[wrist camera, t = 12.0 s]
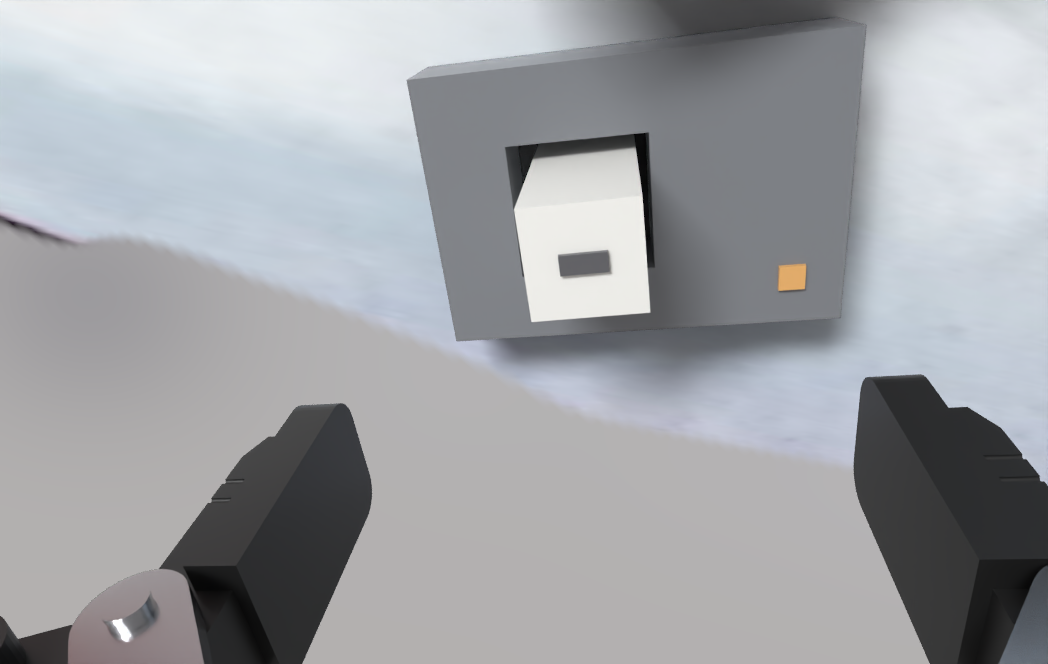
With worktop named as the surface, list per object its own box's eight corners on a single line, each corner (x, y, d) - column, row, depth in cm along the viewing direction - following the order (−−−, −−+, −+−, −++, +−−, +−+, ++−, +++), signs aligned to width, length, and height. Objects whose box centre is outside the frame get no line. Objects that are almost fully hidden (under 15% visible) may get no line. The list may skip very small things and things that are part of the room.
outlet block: (836, 17, 27) (868, 25, 23) (817, 282, 32) (841, 320, 28) (427, 67, 29) (405, 80, 26) (470, 306, 34) (455, 343, 31)
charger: (633, 131, 30) (642, 197, 21) (639, 222, 31) (650, 314, 23) (538, 143, 30) (513, 211, 22) (550, 231, 32) (531, 324, 24)
